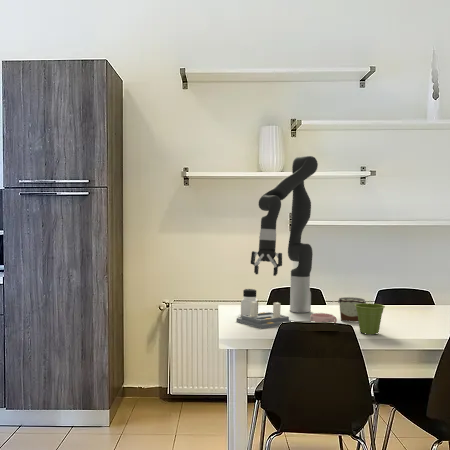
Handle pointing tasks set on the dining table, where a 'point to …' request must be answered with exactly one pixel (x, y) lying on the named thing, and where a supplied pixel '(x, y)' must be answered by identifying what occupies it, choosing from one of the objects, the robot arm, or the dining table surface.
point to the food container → (349, 308)
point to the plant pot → (369, 317)
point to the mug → (323, 317)
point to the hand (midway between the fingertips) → (265, 275)
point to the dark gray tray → (263, 320)
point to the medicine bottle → (248, 301)
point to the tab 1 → (253, 309)
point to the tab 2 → (276, 310)
